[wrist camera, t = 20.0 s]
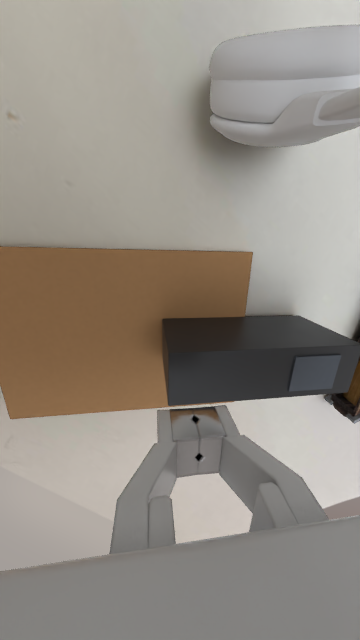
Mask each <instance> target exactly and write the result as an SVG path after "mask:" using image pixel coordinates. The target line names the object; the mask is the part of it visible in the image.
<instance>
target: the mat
mask: <svg viewBox="0 0 360 640" xmlns="http://www.w3.org/2000/svg"><path fill="white" fill-rule="evenodd" d="M252 255H253V252H222V251H178V250H134V249H90V248H46V247H1V246H0V386H1V389H2V392H3V396H4V399H5V403H6V406H7V410H8V413H9V416H10V419H18V418H31V417H44V416H57V415H70V414H83V413H96V412H109V411H122V410H135V409H149V408H162V407H175V406H168V401H167V392H166V383H165V375H164V366H163V358H162V319H165V318H212V317H245V311H246V303H247V295H248V287H249V279H250V271H251V263H252ZM228 402H234V401H228ZM215 403H227V402H215ZM202 404H214V403H202ZM189 405H201V404H189ZM176 406H188V405H176Z"/></svg>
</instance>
